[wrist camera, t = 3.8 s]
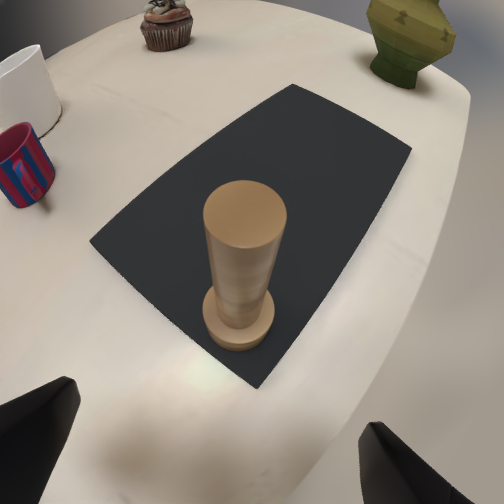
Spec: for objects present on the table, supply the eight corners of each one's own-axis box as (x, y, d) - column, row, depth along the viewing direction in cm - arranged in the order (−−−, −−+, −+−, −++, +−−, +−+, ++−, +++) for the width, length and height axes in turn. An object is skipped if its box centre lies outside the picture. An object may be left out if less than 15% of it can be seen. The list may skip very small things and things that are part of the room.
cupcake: (205, 40, 44) (204, -6, 35) (164, 57, 40) (159, 6, 31) (172, 32, 47) (169, -9, 38) (133, 49, 43) (126, 4, 34)
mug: (16, 158, 29) (-20, 93, 18) (5, 128, 32) (-21, 75, 22) (70, 118, 32) (46, 48, 22) (50, 95, 36) (30, 40, 25)
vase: (349, 47, 47) (378, -74, 21) (420, 72, 47) (460, -39, 20) (355, 80, 40) (398, -80, 13) (440, 112, 39) (500, -26, 12)
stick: (281, 315, 21) (339, 205, 10) (243, 364, 19) (259, 309, 8) (232, 280, 22) (235, 144, 11) (193, 324, 20) (145, 220, 9)
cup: (48, 154, 29) (27, 113, 23) (70, 200, 26) (42, 153, 20) (7, 186, 26) (-19, 149, 20) (21, 238, 23) (-14, 199, 17)
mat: (409, 152, 32) (412, 148, 31) (256, 389, 19) (257, 389, 18) (291, 88, 36) (292, 83, 36) (92, 245, 24) (88, 240, 23)
